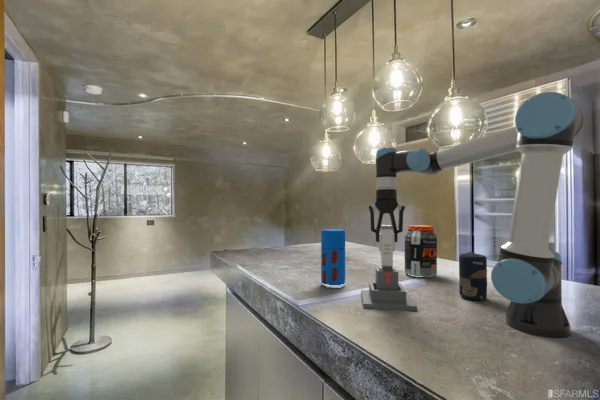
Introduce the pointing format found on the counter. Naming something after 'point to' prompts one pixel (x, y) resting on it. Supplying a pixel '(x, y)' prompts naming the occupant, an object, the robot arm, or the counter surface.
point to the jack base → (387, 292)
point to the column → (386, 246)
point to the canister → (473, 276)
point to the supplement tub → (421, 251)
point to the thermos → (333, 256)
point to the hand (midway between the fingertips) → (386, 250)
